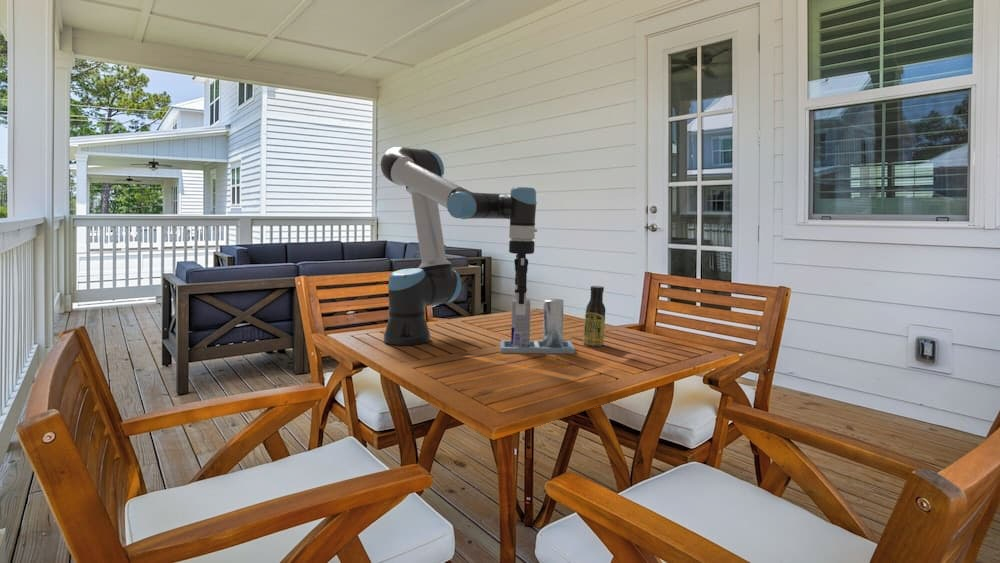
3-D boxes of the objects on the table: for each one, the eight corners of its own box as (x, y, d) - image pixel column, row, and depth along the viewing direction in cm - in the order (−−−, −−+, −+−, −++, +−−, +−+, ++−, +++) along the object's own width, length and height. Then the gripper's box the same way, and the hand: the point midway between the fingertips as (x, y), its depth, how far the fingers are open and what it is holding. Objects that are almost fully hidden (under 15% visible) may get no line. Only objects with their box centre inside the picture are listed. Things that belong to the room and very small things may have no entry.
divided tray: (500, 356, 161) (500, 348, 161) (500, 348, 171) (500, 340, 170) (574, 357, 161) (575, 348, 161) (570, 348, 171) (570, 340, 171)
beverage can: (533, 348, 166) (534, 300, 164) (522, 352, 162) (523, 302, 160) (518, 345, 170) (519, 298, 168) (507, 348, 165) (508, 300, 163)
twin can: (539, 349, 165) (539, 300, 164) (550, 345, 170) (550, 298, 168) (555, 352, 162) (556, 302, 160) (566, 348, 166) (567, 300, 164)
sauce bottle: (580, 349, 171) (582, 286, 168) (587, 345, 176) (588, 284, 174) (600, 352, 168) (602, 288, 165) (606, 347, 173) (608, 285, 171)
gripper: (537, 243, 149) (534, 319, 152) (531, 237, 174) (529, 303, 177) (510, 242, 149) (508, 318, 152) (508, 237, 174) (506, 302, 177)
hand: (519, 310), depth 165 cm, fingers open, 13 cm apart
